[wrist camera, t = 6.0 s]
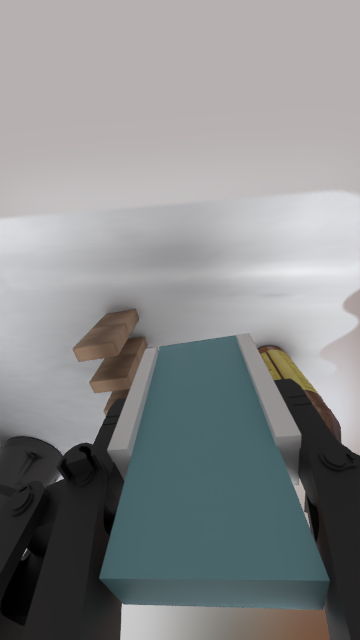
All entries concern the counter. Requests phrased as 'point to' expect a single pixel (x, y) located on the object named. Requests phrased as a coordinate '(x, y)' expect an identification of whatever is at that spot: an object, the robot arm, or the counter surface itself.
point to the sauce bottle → (284, 369)
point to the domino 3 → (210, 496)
